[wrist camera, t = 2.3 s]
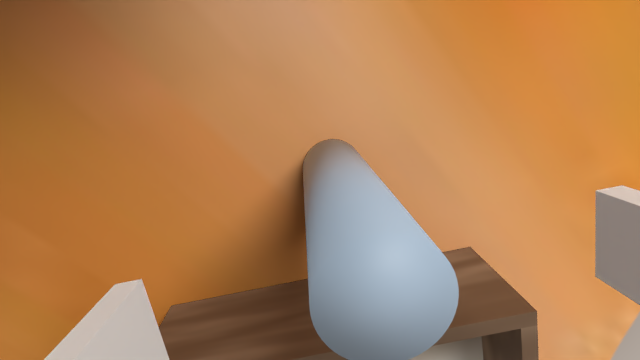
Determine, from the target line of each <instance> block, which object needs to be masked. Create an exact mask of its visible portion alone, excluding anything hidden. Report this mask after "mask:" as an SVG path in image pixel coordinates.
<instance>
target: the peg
mask: <svg viewBox="0 0 640 360" xmlns="http://www.w3.org/2000/svg"><path fill="white" fill-rule="evenodd" d="M303 185H304V205H305V226H306V246H307V267H308V287H309V307H310V315H311V319H312V323H313V326H314V328H315V330H316V332H317V334H318V335H319V337H320V338H321V340H322V341H323V342H324V343H325V344H326V345H327V346H328V347H329V348H330V349H331V350H333V351H334V352H335V353H337V354H338V355H340V356H342V357H344V358H346V359H348V360H409V359H411V358H414V357H416V356H418V355H420V354H421V353H423V352H424V351H426V350H427V349H429V348H430V347H431V346H433V345H434V344H435V343H436V342H437V341H438V340H439V339H440V338H441V337H442V336H443V334H444V333H445V332H446V331H447V329H448V327H449V326H450V324H451V322H452V320H453V318H454V315H455V313H456V309H457V306H458V298H459V287H458V282H457V277H456V274H455V271H454V269H453V267H452V265H451V264H450V262H449V261H448V259H447V258H446V257H445V255H444V254H443V253H442V252H441V251H440V249H439V248H438V247H437V246H436V245H435V243H434V242H433V241H432V240H431V239H430V237H429V236H428V235H427V234H426V233H425V232H424V230H423V229H422V228H421V227H420V226H419V224H418V223H417V222H416V221H415V220H414V218H413V217H412V216H411V215H410V214H409V213H408V211H407V210H406V209H405V208H404V207H403V205H402V204H401V203H400V202H399V201H398V200H397V198H396V197H395V196H394V195H393V194H392V192H391V191H390V190H389V189H388V188H387V186H386V185H385V184H384V183H383V182H382V181H381V179H380V178H379V177H378V176H377V175H376V173H375V172H374V171H373V170H372V169H371V167H370V166H369V165H368V164H367V163H366V162H365V160H364V159H363V158H362V157H361V156H360V154H359V153H358V152H357V151H356V150H355V149H354V148H353V147H352V146H351V145H350V144H348V143H347V142H344V141H342V140H337V139H329V140H324V141H321V142H319V143H317V144H316V145H314V146H313V147H312V148H311V149H310V150H309V151H308V153H307V155H306V157H305V159H304V162H303Z"/></svg>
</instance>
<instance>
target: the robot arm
mask: <svg viewBox="0 0 640 360" xmlns="http://www.w3.org/2000/svg"><path fill="white" fill-rule="evenodd" d="M595 277H597V278H599V279H600V280H602V281H603V282H605V283H606V284H608V285H609V286H611V287H613V288H614V289H616V290H617V291H619V292H620V293H622V294H623V295H625V296H627V297H628V298H630V299H631V300H633V301H634V302H636V303H637V304H639V305H640V191H639V190H635V189H632V188H629V187H626V186H617V187H612V188H607V189H602V190H596V267H595ZM44 360H170V359H169V357H168V354H167V351H166V348H165V345H164V342H163V339H162V336H161V333H160V331H159V328H158V325H157V322H156V319H155V316H154V313H153V310H152V307H151V304H150V302H149V299H148V296H147V293H146V290H145V287H144V284H143V281H142V279H140V280H135V281H129V282H124V283H119V284H115V285H114V286H113V287H112V288H111V289H110V290H109V291H108V292H107V293H106V294H105V296H104V297H103V298H102V299H101V300H100V301H99V302H98V303H97V304H96V305H95V306H94V307H93V308H92V309H91V310H90V311H89V312H88V314H87V315H86V316H85V317H84V318H83V319H82V320H81V321H80V322H79V323H78V324H77V325H76V326H75V327H74V328H73V329H72V330H71V332H70V333H69V334H68V335H67V336H66V337H65V338H64V339H63V340H62V341H61V342H60V343H59V344H58V345H57V346H56V347H55V348H54V350H53V351H52V352H51V353H50V354H49V355H48V356H47V357H46V358H45V359H44Z"/></svg>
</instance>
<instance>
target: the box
mask: <svg viewBox="0 0 640 360" xmlns="http://www.w3.org/2000/svg"><path fill="white" fill-rule="evenodd" d="M442 253H443V254H444V255H445V257H446V258H447V259H448V261H449V262H450V264H451V265H452V267H453V269H454V271H455V274H456V277H457V282H458V287H459V298H458V306H457V309H456V313H455V315H454V318H453V320H452V322H451V324H450V326H449V327H448V329H447V331H446V332H445V333H444V334H443V336H442V337H441V338H440V339H439V340H438V341H437V342H436V343H435V344H434V345H433V346H431V347H430V348H429V349H427V350H426V351H424V352H423V353H421V354H420V355H418V356H416V357H414V358H411V359H409V360H538V331H537V311H536V310H535V309H534V308H533V307H532V306H531V305H530V304H529V303H528V302H527V301H526V300H525V299H524V298H523V297H522V296H521V295H520V294H519V293H518V292H517V291H516V290H514V289H513V288H512V287H511V286H510V285H509V284H508V283H507V282H506V281H505V280H504V279H503V278H502V277H501V276H500V275H499V274H498V273H497V272H496V271H495V270H494V269H493V268H492V267H491V266H490V265H488V264H487V263H486V262H485V261H484V260H483V259H482V258H481V257H480V256H479V255H478V254H477V253H476V252H475V251H474V250H473V249H472V248H471V247H467V248H462V249H457V250H452V251H447V252H442ZM159 331H160V333H161V336H162V339H163V342H164V345H165V348H166V351H167V354H168V357H169V359H170V360H348V359H346V358H344V357H342V356H340V355H338V354H337V353H335V352H334V351H333V350H331V349H330V348H329V347H328V346H327V345H326V344H325V343H324V342H323V341H322V340H321V338H320V337H319V335H318V334H317V332H316V330H315V328H314V326H313V323H312V319H311V315H310V307H309V287H308V279H305V280H300V281H295V282H290V283H285V284H280V285H275V286H270V287H265V288H259V289H254V290H249V291H244V292H239V293H234V294H229V295H224V296H219V297H214V298H209V299H204V300H199V301H194V302H188V303H183V304H178V305H173V306H171V307H170V309H169V311H168V313H167V314H166V316H165V318H164V320H163V321H162V323H161V325H160V327H159Z"/></svg>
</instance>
